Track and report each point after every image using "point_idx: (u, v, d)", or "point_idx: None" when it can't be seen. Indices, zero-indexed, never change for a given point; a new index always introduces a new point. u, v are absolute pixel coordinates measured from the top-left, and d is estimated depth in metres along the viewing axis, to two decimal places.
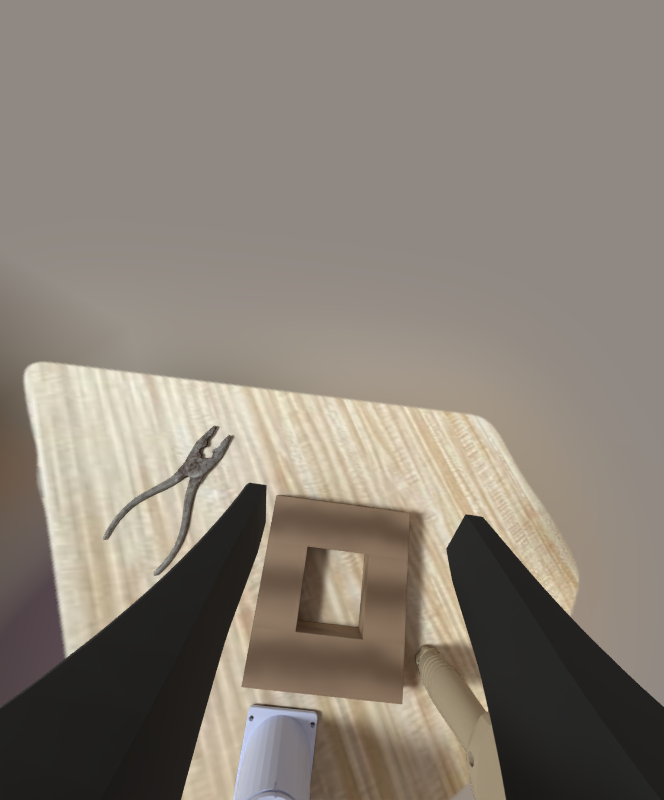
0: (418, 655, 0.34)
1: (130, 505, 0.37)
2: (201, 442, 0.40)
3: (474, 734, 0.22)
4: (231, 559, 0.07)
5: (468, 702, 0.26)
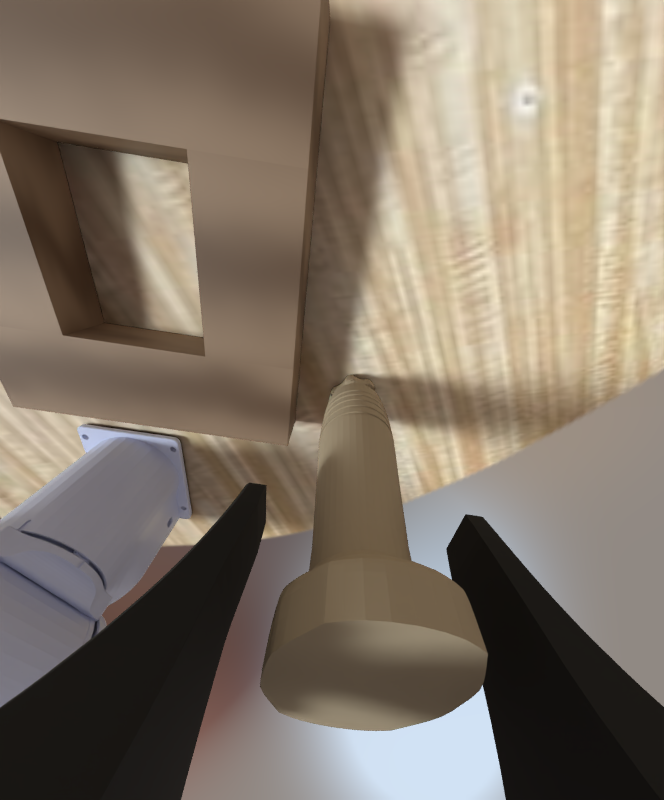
0: (335, 388, 0.19)
1: None
2: None
3: (291, 596, 0.06)
4: (231, 559, 0.07)
5: (356, 486, 0.10)
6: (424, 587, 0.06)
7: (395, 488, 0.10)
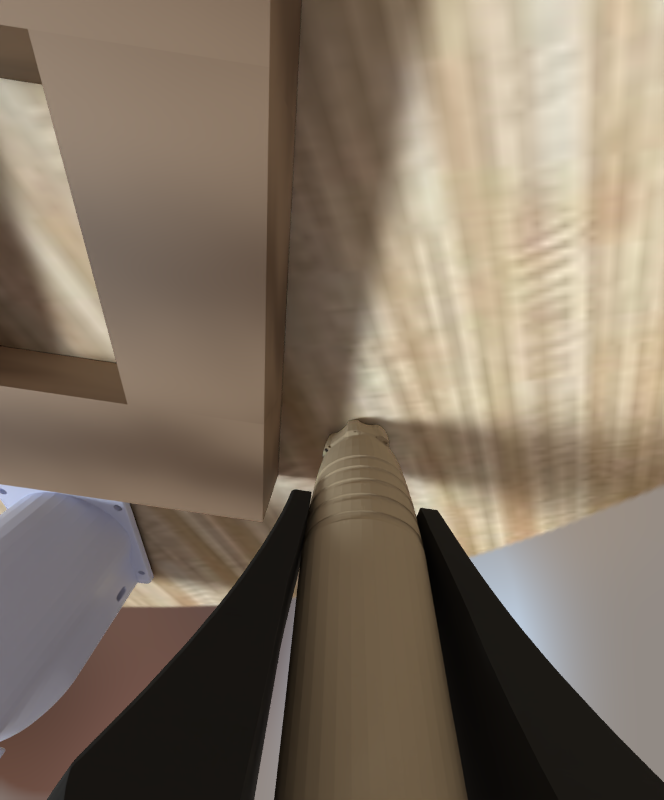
0: (332, 438, 0.13)
1: None
2: None
3: None
4: (292, 568, 0.07)
5: (366, 788, 0.04)
6: None
7: (450, 745, 0.05)
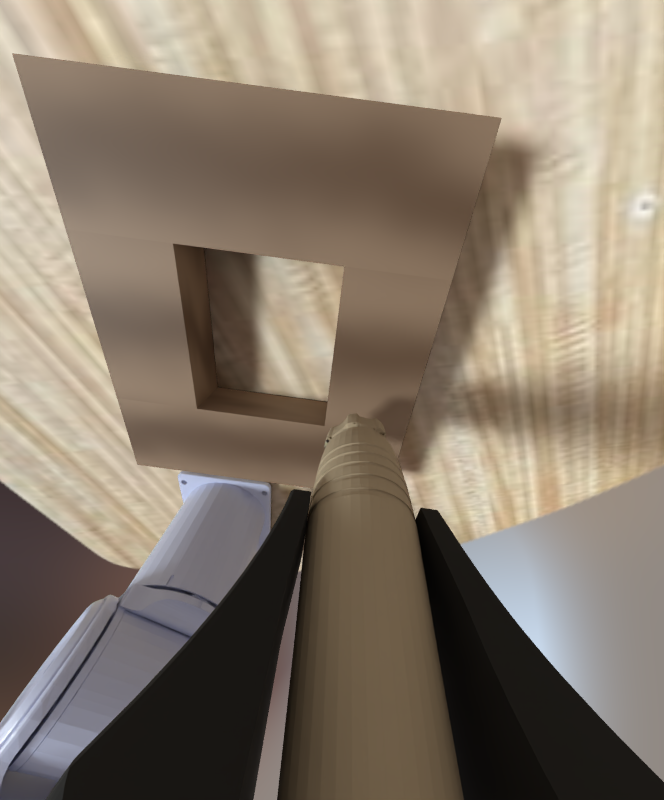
0: (333, 430, 0.14)
1: None
2: None
3: None
4: (291, 568, 0.07)
5: (363, 690, 0.05)
6: None
7: (433, 668, 0.06)
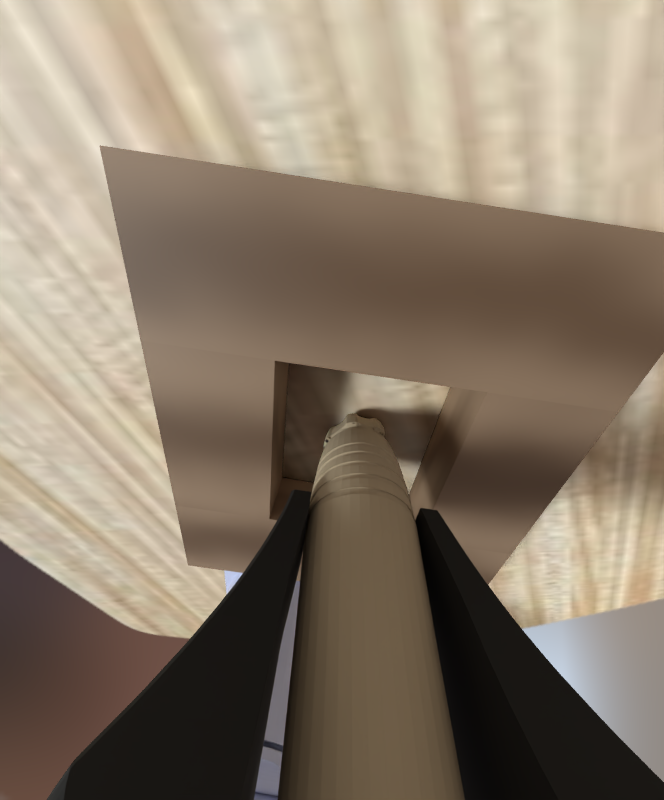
0: (332, 430, 0.14)
1: None
2: None
3: None
4: (292, 568, 0.07)
5: (364, 690, 0.05)
6: None
7: (434, 668, 0.06)
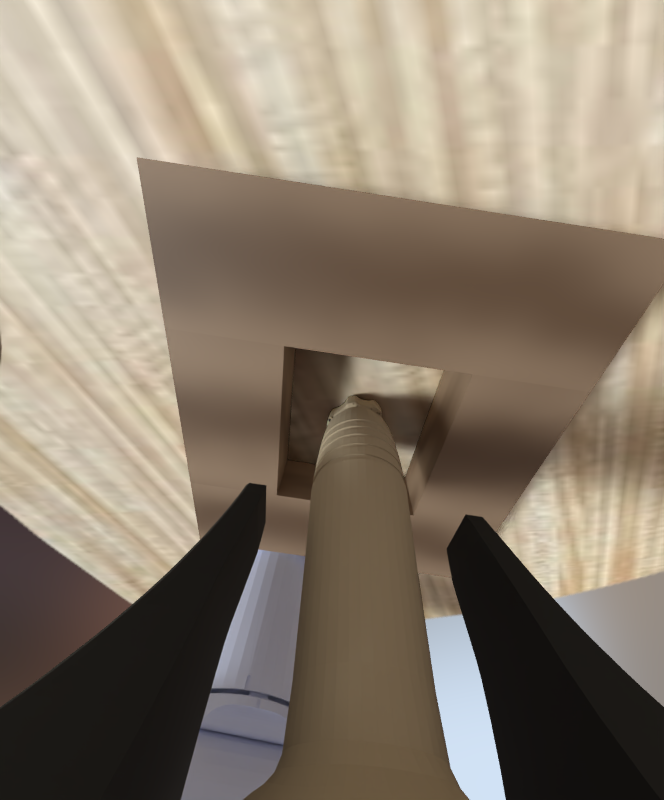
0: (334, 411, 0.16)
1: None
2: None
3: None
4: (231, 559, 0.07)
5: (358, 590, 0.07)
6: None
7: (413, 582, 0.07)
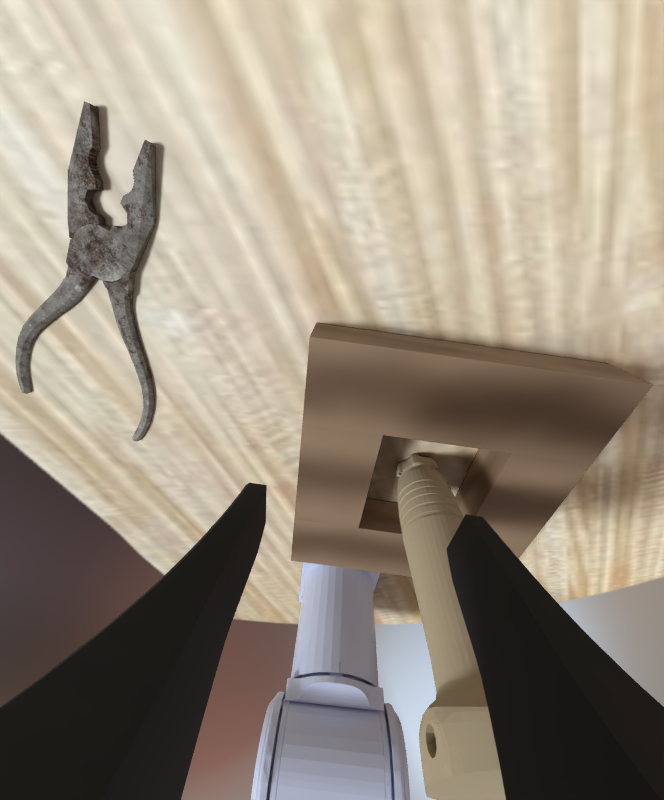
0: (402, 466, 0.21)
1: (24, 340, 0.18)
2: (79, 174, 0.14)
3: (455, 726, 0.09)
4: (231, 559, 0.07)
5: None
6: None
7: None
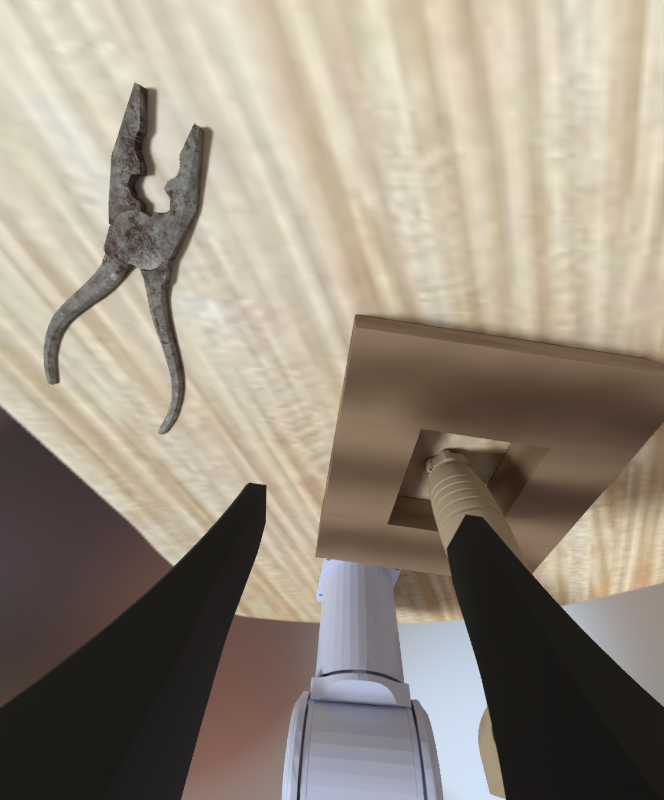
0: (432, 461, 0.21)
1: (54, 329, 0.18)
2: (123, 158, 0.13)
3: None
4: (231, 559, 0.07)
5: None
6: None
7: None
